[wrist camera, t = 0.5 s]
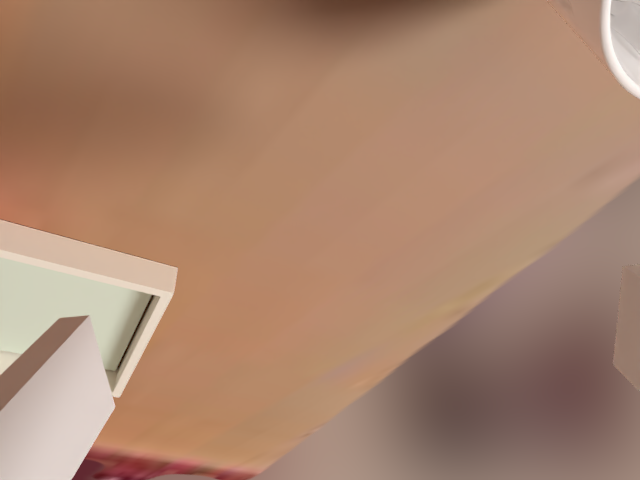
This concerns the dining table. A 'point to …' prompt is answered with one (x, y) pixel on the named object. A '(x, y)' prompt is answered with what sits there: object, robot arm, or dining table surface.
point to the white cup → (608, 34)
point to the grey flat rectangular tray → (78, 296)
